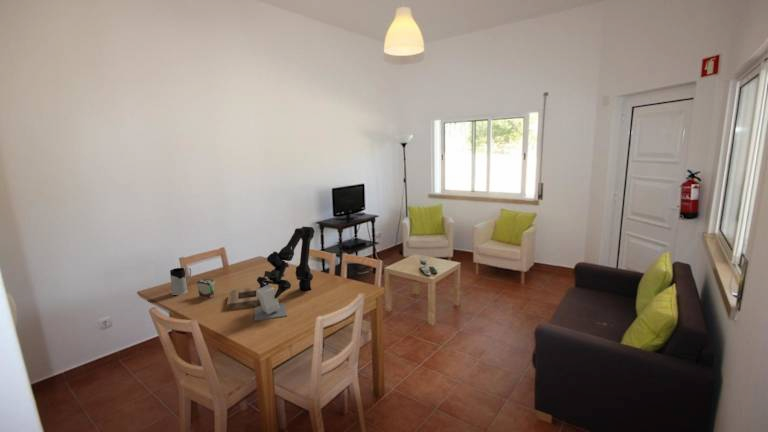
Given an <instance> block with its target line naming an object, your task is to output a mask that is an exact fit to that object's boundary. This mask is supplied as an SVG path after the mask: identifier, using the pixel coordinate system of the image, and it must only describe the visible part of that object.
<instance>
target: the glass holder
mask: <svg viewBox="0 0 768 432" xmlns="http://www.w3.org/2000/svg"><path fill="white" fill-rule="evenodd" d="M187 269H188V270H189V277H188V279H186V274H187V273H186V272H187ZM169 273H170V284H171V285H170V286H171V296H172V295H181V294H184V295H186V294H185V293H187V292H188V293H189V291H188V286H187V285H188V283H189V281H190V279H191V276H192V270H191V268H190V267H186V268H184V267H177V268H172V269H171V270H169ZM188 293H187V294H188ZM181 296H182V295H181Z"/></svg>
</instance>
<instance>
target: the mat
mask: <svg viewBox="0 0 768 432" xmlns="http://www.w3.org/2000/svg"><path fill="white" fill-rule="evenodd" d="M279 306H280V309H278V310H276V311H274V312H272V313H271V314H269V315H268V314H267V313H265V312H264V311H263V309H262V306H261V305H260V306H254V322H258V321H264V320H265V321H266V320H272V319H278V318H284V317H288V315H287V309H286V304H285V302H284V303H282V302H281V303H279Z"/></svg>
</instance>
